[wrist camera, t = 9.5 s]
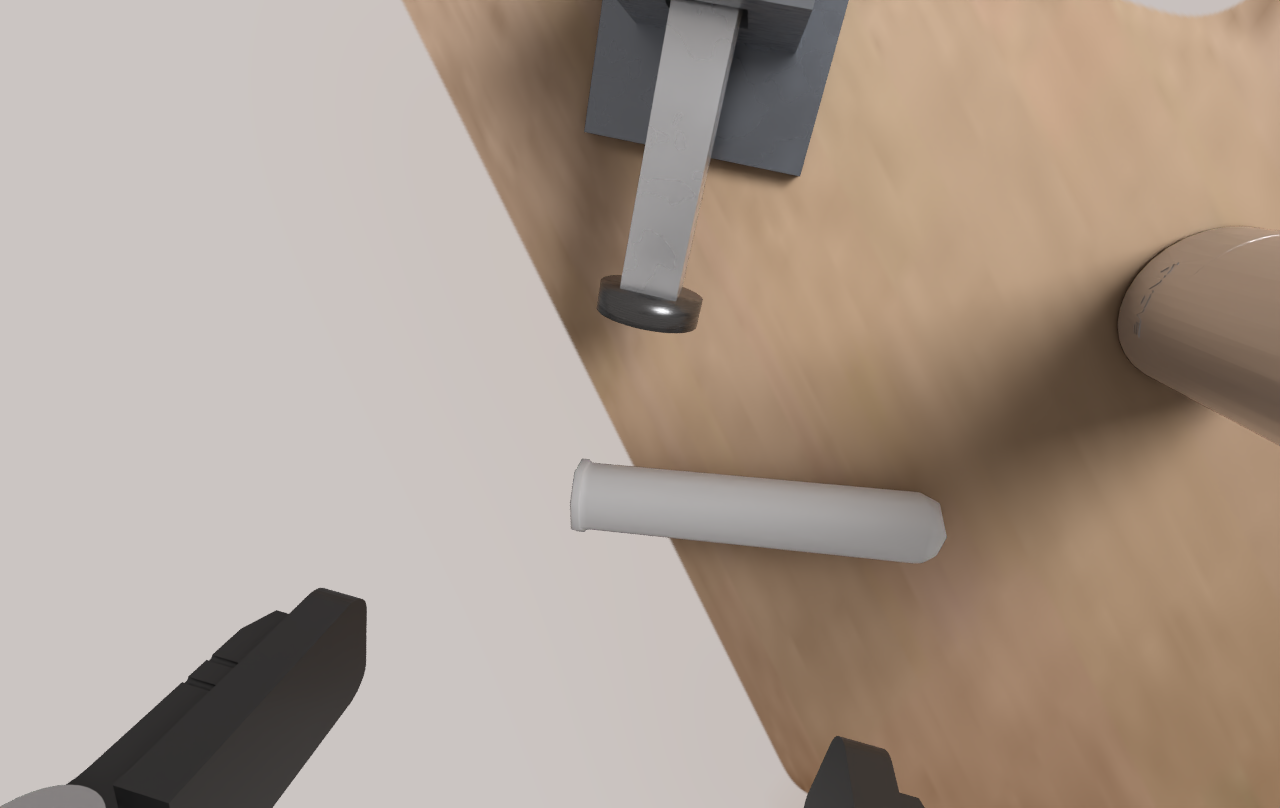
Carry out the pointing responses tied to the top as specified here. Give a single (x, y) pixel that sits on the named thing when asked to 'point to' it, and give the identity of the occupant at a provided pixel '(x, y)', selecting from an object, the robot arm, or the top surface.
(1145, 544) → the top surface
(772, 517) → the tube
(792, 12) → the bearing block
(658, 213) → the shaft
